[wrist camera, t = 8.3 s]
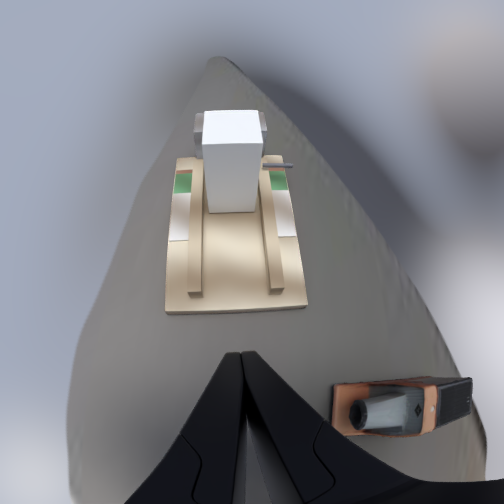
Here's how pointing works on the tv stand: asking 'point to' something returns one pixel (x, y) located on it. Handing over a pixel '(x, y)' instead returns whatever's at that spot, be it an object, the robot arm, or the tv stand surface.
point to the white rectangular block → (233, 159)
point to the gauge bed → (232, 244)
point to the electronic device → (400, 405)
